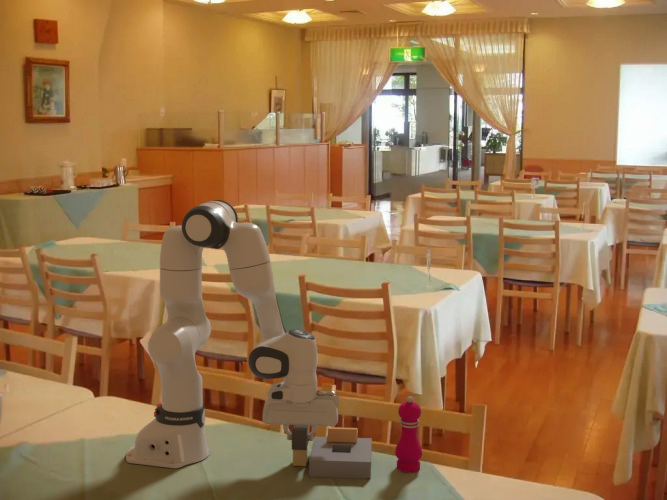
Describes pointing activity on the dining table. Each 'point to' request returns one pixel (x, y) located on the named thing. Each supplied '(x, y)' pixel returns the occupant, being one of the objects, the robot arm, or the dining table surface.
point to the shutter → (342, 434)
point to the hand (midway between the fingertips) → (300, 439)
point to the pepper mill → (409, 437)
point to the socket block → (340, 458)
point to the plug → (300, 444)
